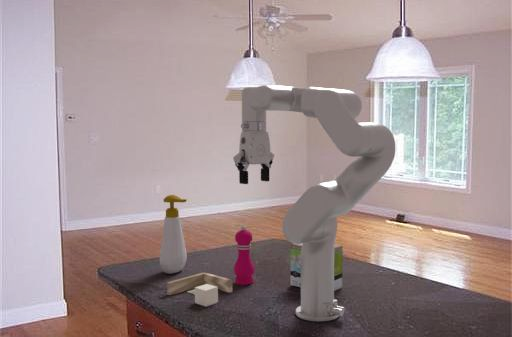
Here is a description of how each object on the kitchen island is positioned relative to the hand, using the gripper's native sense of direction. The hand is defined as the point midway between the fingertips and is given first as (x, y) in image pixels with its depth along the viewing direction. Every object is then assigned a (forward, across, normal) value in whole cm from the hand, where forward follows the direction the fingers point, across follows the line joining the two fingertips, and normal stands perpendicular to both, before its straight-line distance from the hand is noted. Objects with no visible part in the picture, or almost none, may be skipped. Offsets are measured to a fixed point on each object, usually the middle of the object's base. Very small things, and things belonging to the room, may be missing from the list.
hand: (254, 182), depth 168 cm
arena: (+37, -9, +16) cm, 41 cm away
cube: (+37, -14, +8) cm, 40 cm away
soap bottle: (+37, +2, +43) cm, 57 cm away
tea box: (+37, +21, -8) cm, 43 cm away
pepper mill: (+37, +9, +14) cm, 40 cm away
